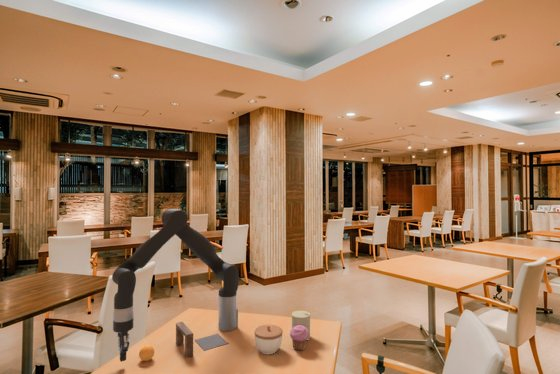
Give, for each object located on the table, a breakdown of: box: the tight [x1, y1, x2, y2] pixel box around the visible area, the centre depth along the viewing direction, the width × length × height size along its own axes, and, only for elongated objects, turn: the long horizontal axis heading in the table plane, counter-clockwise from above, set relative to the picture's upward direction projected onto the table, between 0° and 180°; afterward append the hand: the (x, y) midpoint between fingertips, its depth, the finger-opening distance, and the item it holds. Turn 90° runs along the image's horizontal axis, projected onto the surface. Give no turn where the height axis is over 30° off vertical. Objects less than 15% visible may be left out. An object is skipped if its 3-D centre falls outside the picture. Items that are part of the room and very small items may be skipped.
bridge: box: [175, 321, 194, 359], centre depth 146 cm, size 3×15×10 cm, turn 35°
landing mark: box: [194, 333, 229, 351], centre depth 154 cm, size 12×12×1 cm
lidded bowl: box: [254, 324, 284, 355], centre depth 146 cm, size 13×13×11 cm
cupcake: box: [289, 325, 309, 351], centre depth 148 cm, size 9×9×10 cm
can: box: [291, 310, 311, 340], centre depth 159 cm, size 9×9×12 cm
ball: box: [138, 344, 155, 362], centre depth 137 cm, size 6×6×6 cm
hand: (122, 360), depth 132 cm, fingers closed
